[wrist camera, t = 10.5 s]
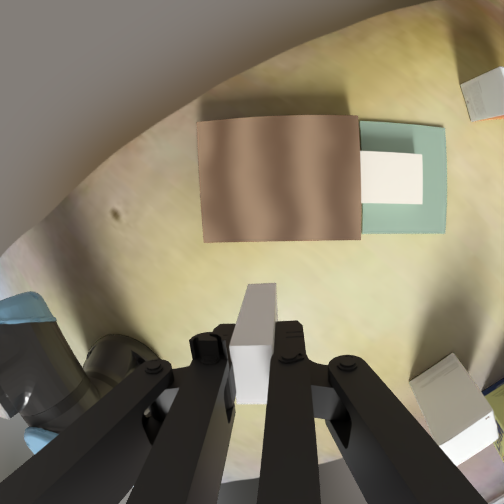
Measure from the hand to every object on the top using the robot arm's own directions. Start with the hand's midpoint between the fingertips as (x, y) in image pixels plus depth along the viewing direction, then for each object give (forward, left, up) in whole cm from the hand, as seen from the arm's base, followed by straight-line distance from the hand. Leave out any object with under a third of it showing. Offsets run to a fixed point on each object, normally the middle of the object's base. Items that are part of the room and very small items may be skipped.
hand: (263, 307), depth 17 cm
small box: (+30, +18, -23) cm, 43 cm away
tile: (+13, +7, -23) cm, 27 cm away
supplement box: (+26, -26, -23) cm, 44 cm away
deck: (0, +6, -23) cm, 24 cm away
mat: (+16, +6, -23) cm, 29 cm away
